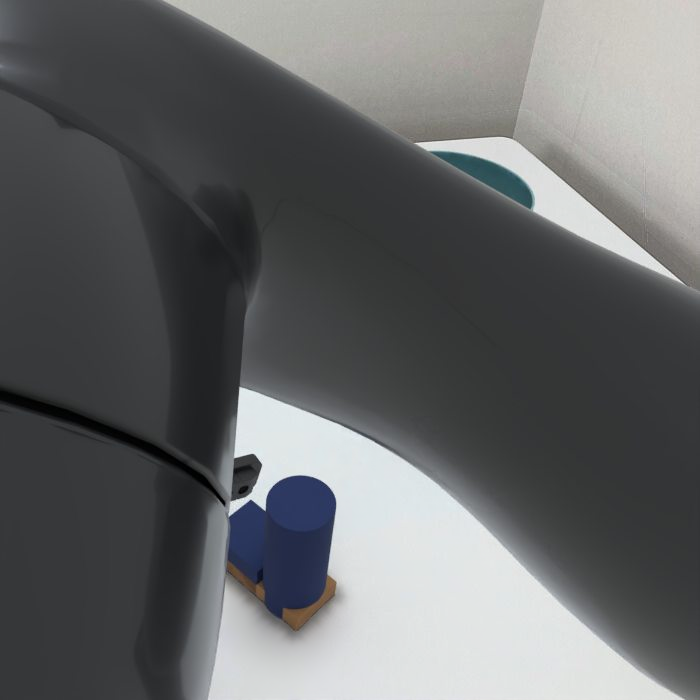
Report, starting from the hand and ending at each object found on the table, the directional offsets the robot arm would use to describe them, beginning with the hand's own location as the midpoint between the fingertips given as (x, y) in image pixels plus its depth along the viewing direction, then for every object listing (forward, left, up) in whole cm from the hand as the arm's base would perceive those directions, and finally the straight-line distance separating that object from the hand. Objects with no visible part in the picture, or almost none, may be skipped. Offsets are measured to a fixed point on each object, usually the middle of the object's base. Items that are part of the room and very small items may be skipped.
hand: (219, 420), depth 46 cm
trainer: (+1, -4, -20) cm, 20 cm away
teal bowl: (+36, -34, -20) cm, 54 cm away
